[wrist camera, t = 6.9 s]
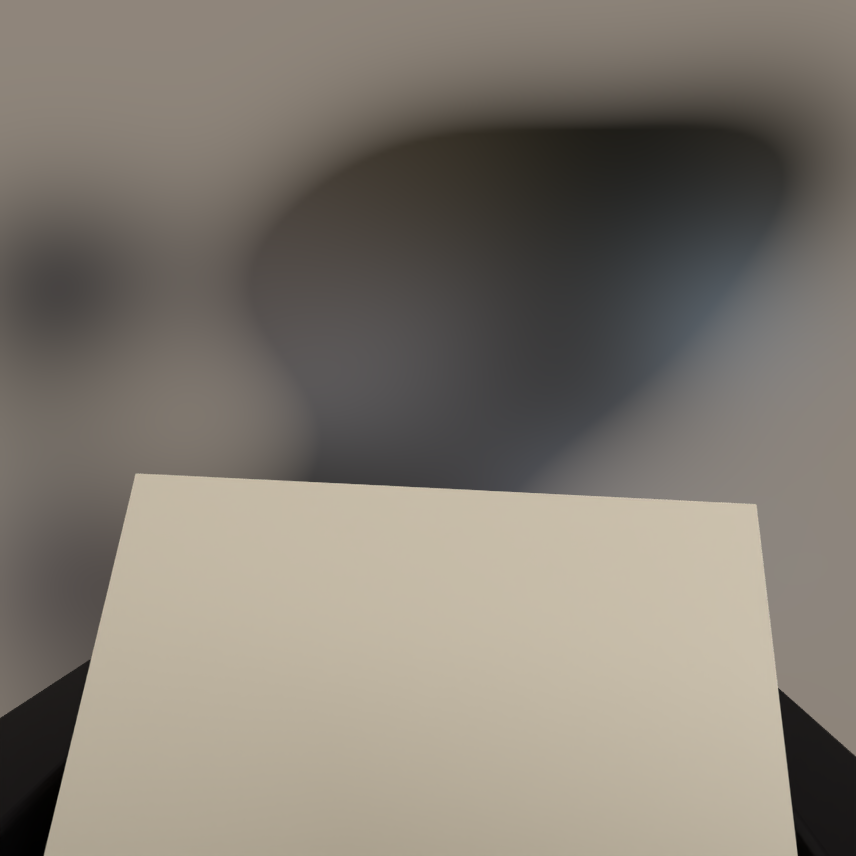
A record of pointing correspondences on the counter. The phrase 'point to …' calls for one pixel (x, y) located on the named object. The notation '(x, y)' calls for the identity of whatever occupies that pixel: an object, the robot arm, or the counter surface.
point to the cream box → (427, 678)
